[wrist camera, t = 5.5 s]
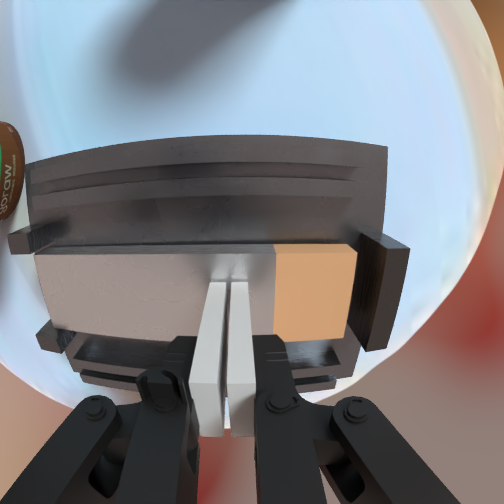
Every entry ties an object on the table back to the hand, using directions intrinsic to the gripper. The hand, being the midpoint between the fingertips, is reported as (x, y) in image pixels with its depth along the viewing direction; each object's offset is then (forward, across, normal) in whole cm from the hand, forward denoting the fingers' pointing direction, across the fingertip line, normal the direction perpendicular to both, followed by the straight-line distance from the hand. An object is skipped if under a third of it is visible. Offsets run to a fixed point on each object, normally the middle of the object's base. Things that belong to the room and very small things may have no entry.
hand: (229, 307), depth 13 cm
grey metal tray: (+6, -2, 0) cm, 7 cm away
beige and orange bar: (+2, -3, 0) cm, 3 cm away
